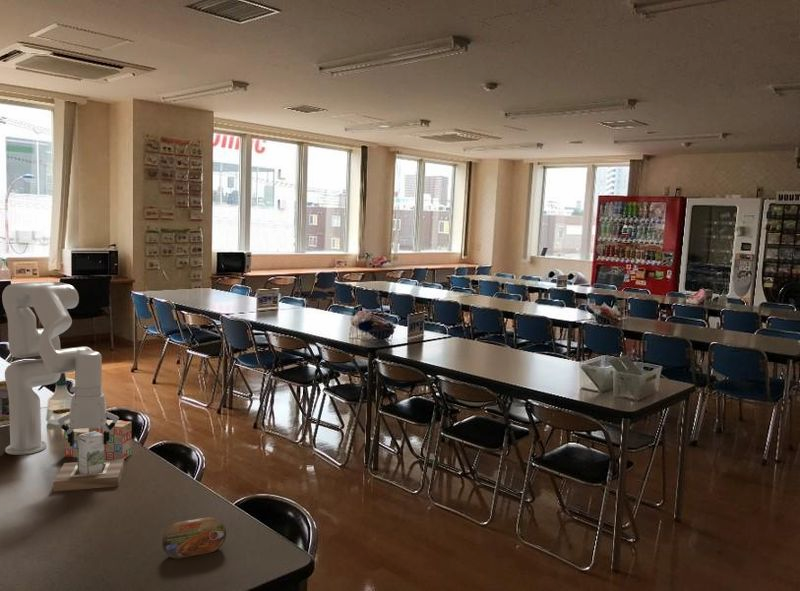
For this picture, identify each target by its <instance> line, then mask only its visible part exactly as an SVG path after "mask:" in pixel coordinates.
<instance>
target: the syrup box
mask: <svg viewBox="0 0 800 591" xmlns="http://www.w3.org/2000/svg"><path fill="white" fill-rule="evenodd" d="M77 453H78V458H77V462H78V475H80V474H93V473H103V470H104V435H102V434H101V433H99V432H96V431H93V432H89V433H85V434H81V435H77Z"/></svg>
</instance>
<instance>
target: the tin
mask: <svg viewBox="0 0 800 591" xmlns="http://www.w3.org/2000/svg"><path fill="white" fill-rule="evenodd" d="M226 539H227V530H226V528H225V525H224V524H223V523H222V521H221V520H220V519H219V518H216V517H213V516H207V517H201V518H195V519H188V520H181V521H177V522H174V523H172V524H171V525H169V526H168V527H167V528H166V529H165V531H164V533H163V535H162V542H161V543H162V549H163V551H164V552H165V554H166V555H167V556H168V557H171V558H174V559H182V558H188V557H192V556H193V557H194V556H197V555H198V556H199V555H204V554H209V553H213V552H216V551H217V550H219V549H220V548H221V547H222V546H223V544H224V543H225V541H226Z"/></svg>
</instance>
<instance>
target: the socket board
mask: <svg viewBox="0 0 800 591" xmlns="http://www.w3.org/2000/svg"><path fill="white" fill-rule="evenodd" d="M124 471H125V460H124V459H117V460H104V470H103V473H93V474H80V475H78V461H77V462H64V463H63V465H62V466H61V467H60V469H59V471H58V473H57V474H56V476H55V478H54V480H53V482H52V486H53V488H52V490H53V492H64V491H76V490H87V489H89V490H90V489H101V488H102V489H103V488H114V487H119V486H120V483H121V479H122V476H123V473H124Z"/></svg>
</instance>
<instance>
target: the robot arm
mask: <svg viewBox="0 0 800 591" xmlns="http://www.w3.org/2000/svg"><path fill="white" fill-rule="evenodd" d="M1 298H2V305H3V309H4V310H5V311H4V312H5V313H6V318H7V333H8V334H7V337H8V349H9V354H10V355H11V356H12V357H13V358H18V359H22V358H31V357H38V356H40V358H35V359H28V360H21V361H16V362H13V363H11V364H10V365H8V366H7V367H6V369H5V370H4V379H5V384H6V388H7V393H8V409H9V412H8V413H9V416H8V417H9V436H10V437H9V438H10V440H9V441H10V442H9V443H10V444H9V445H8V446H6V447H5V453H6V454H8V455H13V456H24V455H30V454H34V453H38V452H42V451H43V450H45V449H46V448H47V442H45V441H44V440H42V418H41V417H42V416H41V412H42V410H41V399H40V396H39V395H38V394H37V393H36V392H35V391H34V390H33V388H37V387H41V386H47V385H52V384H56V383H57V382H58V381H59V380H60V378H61V376H62V374H66V373H72V372H74V386H73V387H70V388H69V392H70V393H73V394H74V395H73V396H71V401H70V411H69V413H68V414H65V415H64V416H62V417H60V418H59V419H58V420H57V422H58V425H59V426H60V427H61V429H62V430H63V432H64V431H66V433H67V434H68V443H70V446H73V444H74V431H73V430H74V429H83V428H100V427H102V428H103V429H104V430H105V431H104V445H106V444H107V441H109V439H110V434H109V431H110V430H111V429H112V428H113V427H114V426H115V424H116V423H117V421H118V420H119V419H120V416H118V415H116V414H113V413H112V412H109V411H107V403H106V401H107V400H106V397H105V394H104V393H103V386H102V385H103V379H102V378H103V377H102V376H103V371H102V370H103V364H102V360H103V357H102V354H101V353H100V352H99V351H96V350H93V349H92V348H91V347H88V346H77V347H68V348H66V347H65V348H61V340H60V336H59V335H61V334H63V333H65V332H66V331H68V329H69V328H70V327H71V326H72V323H73V320H72V317H71V315H70V313H69V311H68V309H69V310H70V309H74V308H76V307H77V306H78V304H79V302H80V301H79V300H80V296H79V292H78V290H77V289H76V288H75V287H74V285H71V284H69V283H64V282H60V281H59V282H58V281H37V282H35V281H33V282H31V281H30V282H16V283H11V284H8V285H7V286H6V287H5V288H4V290H3V291H2V295H1ZM31 308H33V309H34V311H35V313H36V315H35V313H34V312H33V310H32V309H31ZM37 317H38V319H39V321H40V323H41V325H42V327H43V328H37ZM107 418H108V419H109V420H113V421H112V423H111V424H110V425H108V424H107V423H106V421H107V420H108V419H107ZM68 420H69V425H68V424H66V421H68Z"/></svg>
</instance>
